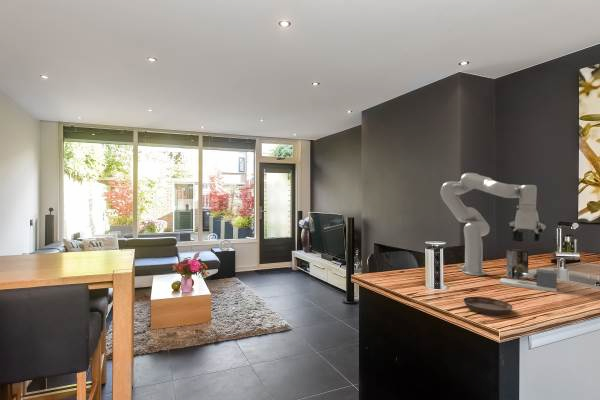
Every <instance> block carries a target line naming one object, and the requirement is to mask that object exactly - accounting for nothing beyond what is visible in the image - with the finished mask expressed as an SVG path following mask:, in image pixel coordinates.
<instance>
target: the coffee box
mask: <svg viewBox="0 0 600 400" xmlns="http://www.w3.org/2000/svg"><path fill="white" fill-rule="evenodd" d="M515 269H517V270H519V272H521V273H529V250H526V249H522V248H520V249H519V248H507V249H506V277H507V278H509V279H514V280H516V279H515V278H514V273H515ZM522 279H523V280H524V279H525V280H529V278H525V277H519V279H518V280H522Z"/></svg>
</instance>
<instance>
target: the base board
mask: <svg viewBox="0 0 600 400" xmlns="http://www.w3.org/2000/svg"><path fill="white" fill-rule="evenodd" d="M499 285H501V286H509V287H515V288H516V287H517V288H524V289H531V290H539V291H545V292H546V291H547V292H552V291H553V293H557V290H558V288H557V289H556V288H548V287H540V286H537V285H536V281H529V280H522V279H512V278H505V277H501V278H500V280H499Z"/></svg>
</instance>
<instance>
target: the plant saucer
mask: <svg viewBox="0 0 600 400" xmlns="http://www.w3.org/2000/svg"><path fill="white" fill-rule="evenodd" d="M462 301H463V303H464V305H465V306H467V308H469V310H471V311H473V312H476V313H479V314H484V315H489V316H490V315H491V316H503V315H507V314H508V313H510V311H512V310H513V305H512V304H511V303H509V302H506V301H503V300H500V299H496V298H493V297H485V296H468V297H467V296H466V297H464V298H463V299H462Z"/></svg>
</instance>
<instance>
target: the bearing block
mask: <svg viewBox="0 0 600 400" xmlns="http://www.w3.org/2000/svg"><path fill="white" fill-rule="evenodd" d="M536 274H537V279H535V280H536V281H535V282H536V285H537V286H540V287H548V288H556V289H557V290H558V288H557V279H558V277H557V274H558V273H557V271H556V270H548V269H538V268H536Z"/></svg>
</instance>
